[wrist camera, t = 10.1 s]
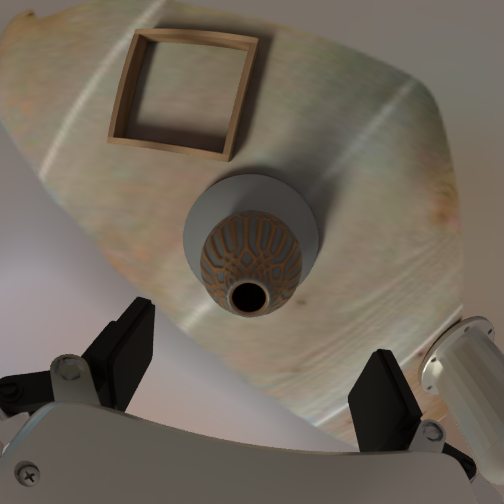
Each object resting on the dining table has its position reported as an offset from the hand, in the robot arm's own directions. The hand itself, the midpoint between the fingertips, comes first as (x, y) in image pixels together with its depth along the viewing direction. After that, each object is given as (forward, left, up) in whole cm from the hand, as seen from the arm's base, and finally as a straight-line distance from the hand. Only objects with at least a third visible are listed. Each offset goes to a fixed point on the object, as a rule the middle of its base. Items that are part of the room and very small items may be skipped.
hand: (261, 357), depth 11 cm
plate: (+1, 0, -14) cm, 14 cm away
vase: (+1, 0, -13) cm, 13 cm away
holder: (+9, -11, -14) cm, 20 cm away
